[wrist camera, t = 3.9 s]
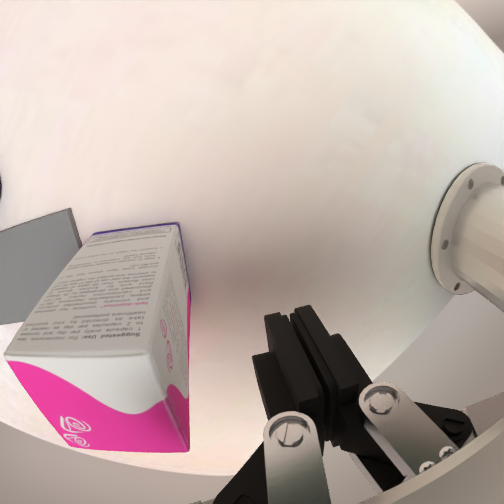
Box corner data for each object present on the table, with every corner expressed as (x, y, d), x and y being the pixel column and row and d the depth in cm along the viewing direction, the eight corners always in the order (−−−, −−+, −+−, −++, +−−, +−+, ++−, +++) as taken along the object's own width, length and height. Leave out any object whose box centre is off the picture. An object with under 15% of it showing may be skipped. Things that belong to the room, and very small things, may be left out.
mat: (70, 207, 16) (66, 210, 15) (104, 304, 19) (102, 309, 18) (-34, 244, 15) (-38, 247, 14) (0, 321, 18) (-3, 325, 17)
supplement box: (89, 232, 17) (-4, 352, 6) (179, 220, 18) (162, 349, 7) (111, 310, 19) (68, 451, 9) (192, 302, 20) (199, 454, 10)
